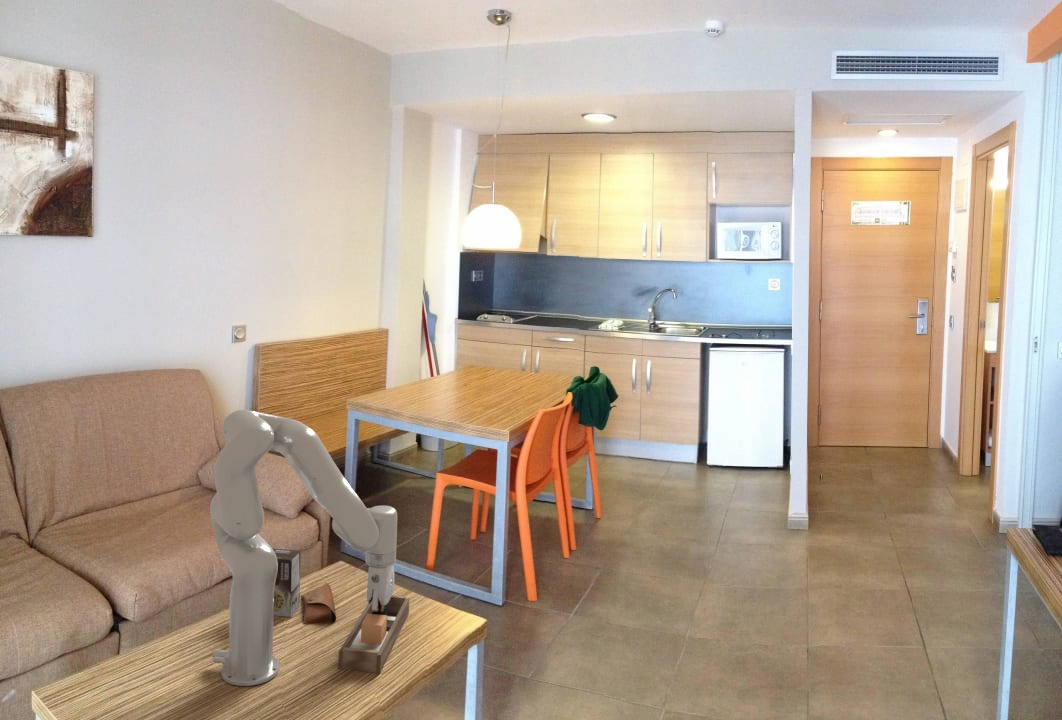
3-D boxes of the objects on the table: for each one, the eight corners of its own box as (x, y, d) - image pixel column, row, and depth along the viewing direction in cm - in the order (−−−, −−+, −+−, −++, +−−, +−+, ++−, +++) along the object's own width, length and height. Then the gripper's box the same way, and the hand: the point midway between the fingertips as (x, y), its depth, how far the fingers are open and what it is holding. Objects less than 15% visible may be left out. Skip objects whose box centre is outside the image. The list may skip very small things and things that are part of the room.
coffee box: (300, 607, 215) (302, 550, 213) (290, 618, 209) (292, 559, 207) (268, 603, 216) (269, 547, 214) (257, 614, 210) (258, 556, 208)
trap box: (338, 668, 187) (339, 648, 186) (372, 610, 216) (373, 593, 215) (380, 673, 186) (381, 653, 185) (408, 614, 216) (409, 596, 215)
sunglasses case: (299, 594, 222) (312, 574, 223) (321, 604, 225) (334, 584, 225) (303, 625, 206) (317, 603, 206) (326, 636, 208) (340, 614, 208)
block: (361, 642, 194) (361, 623, 193) (366, 631, 199) (367, 613, 198) (381, 644, 194) (381, 625, 193) (386, 633, 199) (386, 615, 198)
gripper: (388, 569, 191) (386, 640, 194) (402, 545, 206) (400, 611, 208) (357, 566, 191) (356, 637, 194) (373, 543, 206) (371, 609, 209)
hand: (378, 624), depth 201 cm, fingers closed
